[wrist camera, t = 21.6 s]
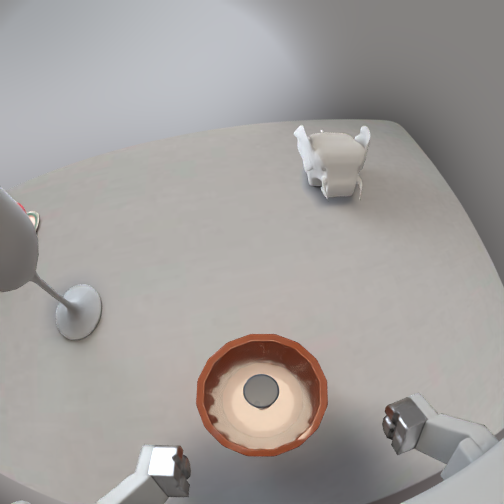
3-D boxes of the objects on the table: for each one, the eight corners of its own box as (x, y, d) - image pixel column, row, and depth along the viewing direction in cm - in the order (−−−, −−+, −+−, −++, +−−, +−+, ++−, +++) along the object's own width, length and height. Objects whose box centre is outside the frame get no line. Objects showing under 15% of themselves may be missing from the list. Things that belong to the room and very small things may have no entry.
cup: (324, 398, 23) (353, 390, 16) (261, 458, 20) (260, 480, 13) (263, 342, 26) (262, 309, 19) (200, 397, 24) (171, 389, 16)
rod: (276, 400, 23) (286, 390, 13) (262, 413, 22) (260, 415, 12) (262, 386, 24) (261, 366, 13) (248, 399, 23) (235, 390, 13)
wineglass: (47, 322, 28) (-73, 223, 10) (76, 274, 31) (-24, 154, 14) (82, 353, 26) (-67, 252, 8) (114, 298, 29) (-3, 161, 12)
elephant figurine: (304, 217, 34) (313, 162, 27) (287, 157, 41) (290, 106, 33) (373, 212, 35) (394, 161, 27) (346, 155, 41) (356, 107, 34)
